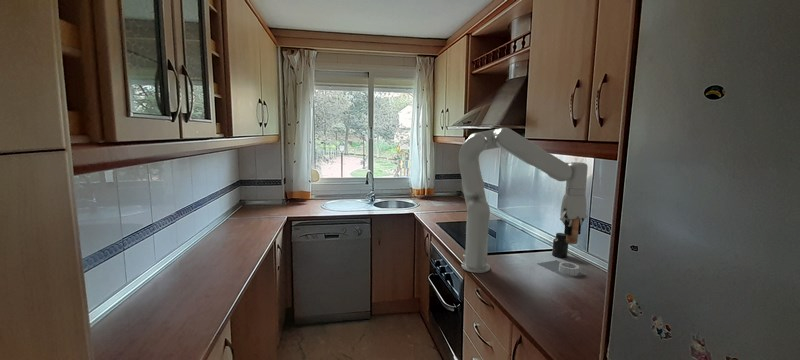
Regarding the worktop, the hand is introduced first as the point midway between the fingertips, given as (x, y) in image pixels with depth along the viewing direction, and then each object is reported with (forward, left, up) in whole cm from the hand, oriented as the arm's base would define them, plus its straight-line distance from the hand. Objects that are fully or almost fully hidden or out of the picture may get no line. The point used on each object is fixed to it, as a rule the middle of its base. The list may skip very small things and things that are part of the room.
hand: (572, 233), depth 149 cm
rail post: (0, 0, -4) cm, 4 cm away
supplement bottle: (-17, +12, -18) cm, 27 cm away
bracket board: (-4, 0, -18) cm, 18 cm away
